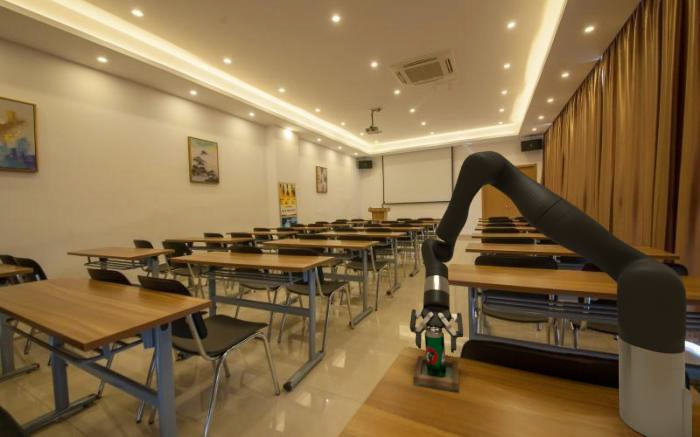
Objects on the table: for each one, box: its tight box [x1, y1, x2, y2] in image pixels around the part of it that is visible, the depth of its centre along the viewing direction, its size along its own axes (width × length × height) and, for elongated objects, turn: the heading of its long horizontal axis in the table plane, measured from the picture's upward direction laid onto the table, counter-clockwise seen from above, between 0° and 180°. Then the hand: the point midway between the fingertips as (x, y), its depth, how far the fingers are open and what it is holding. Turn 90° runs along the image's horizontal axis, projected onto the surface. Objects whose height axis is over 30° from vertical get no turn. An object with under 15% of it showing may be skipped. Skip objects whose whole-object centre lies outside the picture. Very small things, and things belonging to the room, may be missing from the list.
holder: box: [413, 355, 460, 394], centre depth 78 cm, size 11×11×2 cm
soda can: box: [424, 327, 447, 377], centre depth 78 cm, size 5×5×12 cm
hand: (435, 349), depth 77 cm, fingers open, 8 cm apart
